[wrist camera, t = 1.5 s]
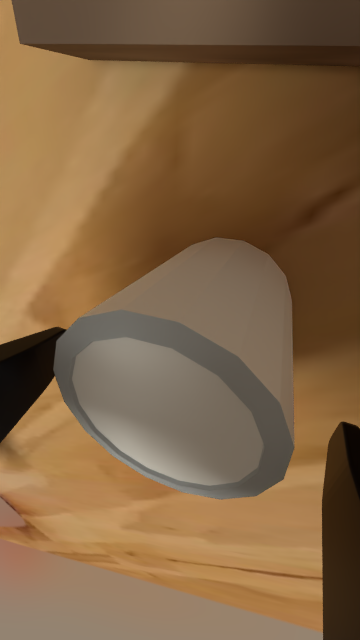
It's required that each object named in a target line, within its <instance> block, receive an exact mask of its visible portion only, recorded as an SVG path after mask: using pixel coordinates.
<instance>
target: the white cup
mask: <svg viewBox="0 0 360 640" xmlns="http://www.w3.org/2000/svg"><path fill="white" fill-rule="evenodd" d="M53 371H54V374H55V377H56V380H57V382H58V385H59V388H60V391H61V394H62V397H63V400H64V402H65V403H66V405H67V406H68V407H69V409H70V410H71V412H72V413H73V414H74V416H75V417H76V419H77V420H78V421H79V423H80V424H81V426H82V427H83V428H84V430H85V431H86V432H87V433H88V434H90V435H91V436H92V437H93V438H94V439H95V440H96V441H97V442H98V443H99V444H100V445H102V446H103V447H104V448H105V449H106V450H107V451H108V452H109V453H110V454H111V455H112V456H114V457H115V458H117V459H119V460H120V461H122V462H123V463H125V464H126V465H128V466H130V467H131V468H133V469H134V470H136V471H137V472H139V473H141V474H142V475H144V476H145V477H147V478H150V479H152V480H154V481H157V482H159V483H162V484H164V485H167V486H169V487H171V488H174V489H176V490H179V491H181V492H184V493H190V494H195V495H200V496H205V497H211V498H216V499H230V498H241V497H251V496H257V495H259V494H260V493H262V492H263V491H265V490H267V489H268V488H270V487H272V486H273V485H275V484H277V483H278V482H280V481H282V480H283V479H284V476H285V473H286V470H287V468H288V465H289V462H290V459H291V456H292V453H293V450H294V394H293V336H292V298H291V294H290V290H289V287H288V283H287V279H286V275H285V274H284V273H283V272H282V270H281V269H280V268H279V267H278V265H277V264H276V263H275V262H274V260H273V259H272V258H271V257H270V255H269V254H267V253H265V252H264V251H262V250H260V249H258V248H256V247H254V246H253V245H251V244H249V243H247V242H245V241H243V240H235V239H226V238H217V237H216V238H212V239H209V240H206V241H202V242H199V243H196V244H192V245H191V246H189V247H188V248H186V249H185V250H183V251H181V252H180V253H178V254H177V255H175V256H174V257H172V258H171V259H169V260H168V261H166V262H164V263H163V264H161V265H160V266H158V267H157V268H155V269H154V270H152V271H151V272H149V273H147V274H146V275H144V276H143V277H141V278H140V279H138V280H137V281H135V282H134V283H132V284H130V285H129V286H127V287H126V288H124V289H123V290H121V291H120V292H118V293H117V294H115V295H113V296H112V297H110V298H109V299H107V300H106V301H104V302H103V303H101V304H100V305H98V306H96V307H95V308H93V309H92V310H90V311H89V312H87V313H86V314H84V315H83V316H81V317H79V318H78V319H77V320H76V321H75V322H74V323H73V324H72V325H71V326H70V327H69V329H68V330H67V331H66V332H65V333H64V334H63V335H62V336H61V337H60V338H59V339H58V340H57V342H56V351H55V359H54V368H53Z"/></svg>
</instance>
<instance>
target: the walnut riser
mask: <svg viewBox="0 0 360 640" xmlns="http://www.w3.org/2000/svg"><path fill="white" fill-rule="evenodd" d="M12 5H13V10H14V15H15V20H16V25H17V31H18V36H19V41H20V44H24V45H28V46H32V47H37V48H41V49H45V50H49V51H54V52H58V53H62V54H66V55H71V56H75V57H79V58H83V59H88V60H119V61H161V62H202V63H244V64H285V65H327V66H360V0H12Z"/></svg>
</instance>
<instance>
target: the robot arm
mask: <svg viewBox="0 0 360 640" xmlns="http://www.w3.org/2000/svg"><path fill="white" fill-rule="evenodd" d="M66 331H67V330H66V329H63V328H60V327H54V328H51V329H48V330H45V331H41V332H38V333H35V334H32V335H29V336H26V337H23V338H20V339H17V340H13V341H10V342H7V343H4V344H1V345H0V443H1V442H2V440H3V439H4V438H5V437H6V436H7V434H8V433H9V432H10V431H11V430H12V429H13V427H14V426H15V425H16V424H17V423H18V421H19V420H20V419H21V418H22V417H23V415H24V414H25V413H26V412H27V411H28V409H29V408H30V407H31V406H32V405H33V404H34V402H35V401H36V400H37V399H38V398H39V396H40V395H41V394H42V393H43V392H44V390H45V389H46V388H47V386H48V385H49V384H50V382H51V381H52V379H53V378H54V376H55V374H54V371H53V368H54V359H55V351H56V342H57V340H58V339H59V338H60V337H61V336H62V335H63V334H64V333H65V332H66ZM322 561H323V640H360V428H359V427H358V426H356V425H353V424H350V423H347V422H340V423H339V425H338V426H337V428H336V430H335V431H334V433H333V435H332V436H331V438H330V441H329V444H328V452H327V461H326V469H325V478H324V487H323V497H322Z"/></svg>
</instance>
